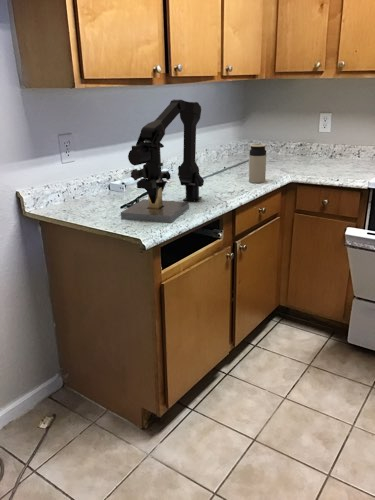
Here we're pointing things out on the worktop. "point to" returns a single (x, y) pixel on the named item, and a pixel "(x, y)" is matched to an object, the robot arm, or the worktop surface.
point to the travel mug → (257, 163)
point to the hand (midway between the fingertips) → (155, 201)
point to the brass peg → (158, 201)
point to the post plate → (155, 211)
